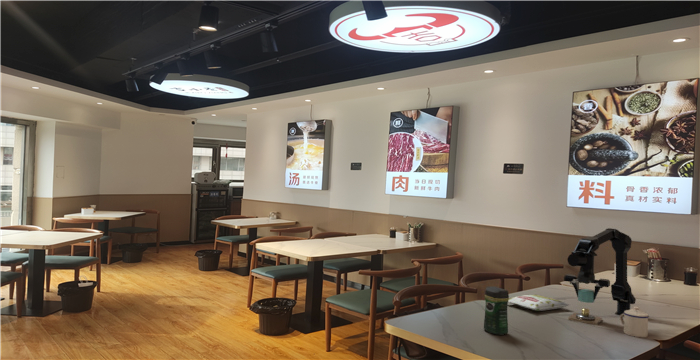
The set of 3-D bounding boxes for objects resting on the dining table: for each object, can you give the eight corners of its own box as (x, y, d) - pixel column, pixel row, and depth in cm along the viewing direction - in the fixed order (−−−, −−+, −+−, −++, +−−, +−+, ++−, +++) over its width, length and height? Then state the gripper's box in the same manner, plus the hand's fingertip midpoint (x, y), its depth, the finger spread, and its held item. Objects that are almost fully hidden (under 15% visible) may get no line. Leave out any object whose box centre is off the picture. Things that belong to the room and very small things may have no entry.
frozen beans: (570, 299, 232) (535, 302, 221) (570, 310, 232) (535, 315, 221) (537, 291, 251) (503, 294, 240) (537, 302, 251) (503, 305, 240)
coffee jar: (511, 334, 189) (512, 289, 190) (496, 336, 186) (498, 290, 186) (494, 327, 198) (496, 284, 199) (480, 329, 195) (481, 285, 195)
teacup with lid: (653, 337, 193) (654, 309, 194) (637, 338, 190) (638, 310, 191) (628, 328, 205) (628, 302, 205) (612, 329, 202) (613, 303, 202)
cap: (580, 298, 221) (580, 288, 221) (595, 301, 217) (595, 290, 217) (576, 300, 216) (577, 290, 216) (592, 303, 212) (592, 292, 212)
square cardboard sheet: (574, 314, 225) (574, 304, 225) (602, 319, 217) (602, 309, 217) (568, 319, 215) (568, 309, 215) (597, 325, 208) (597, 314, 208)
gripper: (561, 264, 216) (560, 298, 216) (606, 270, 205) (605, 305, 204) (567, 262, 225) (566, 294, 225) (610, 267, 213) (609, 301, 213)
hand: (586, 298), depth 216 cm, fingers closed on cap, 6 cm apart
